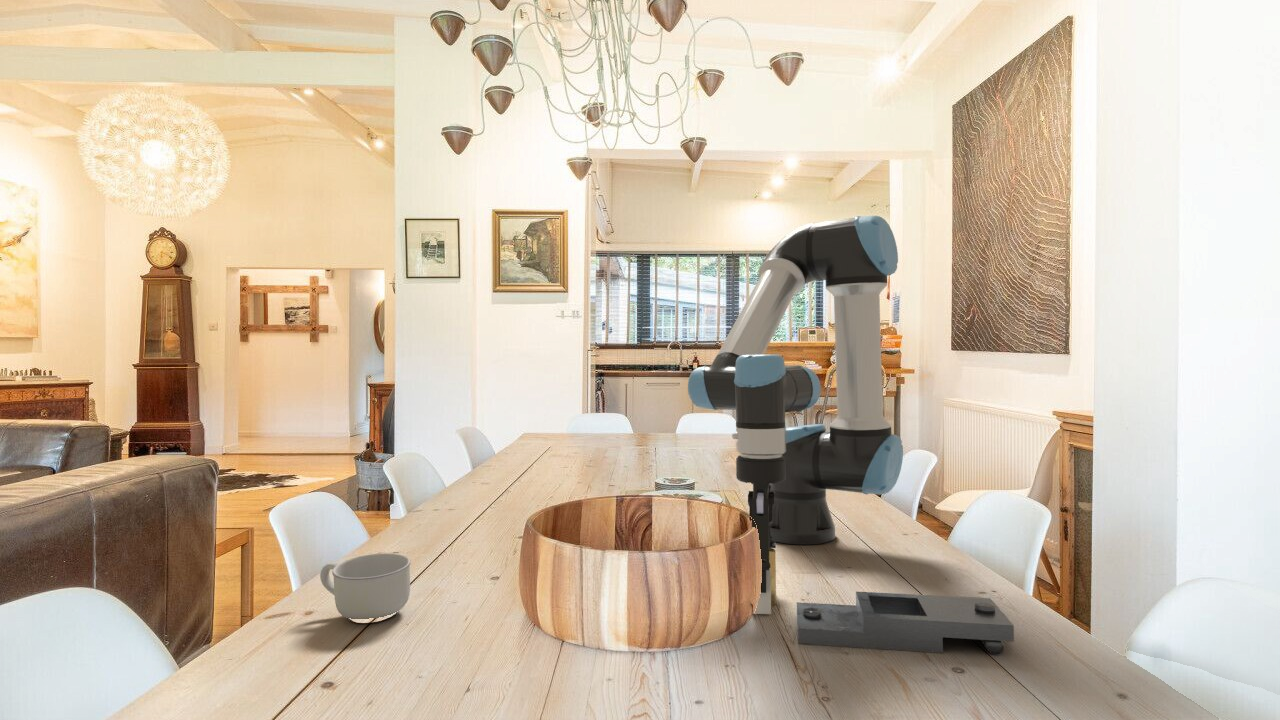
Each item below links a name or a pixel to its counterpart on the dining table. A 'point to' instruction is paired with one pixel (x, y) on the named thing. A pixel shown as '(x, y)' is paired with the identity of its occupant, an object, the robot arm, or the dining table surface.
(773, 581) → the brass pin
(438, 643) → the dining table surface
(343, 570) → the teacup
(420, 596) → the dining table surface
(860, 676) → the dining table surface
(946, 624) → the grey slotted bracket
